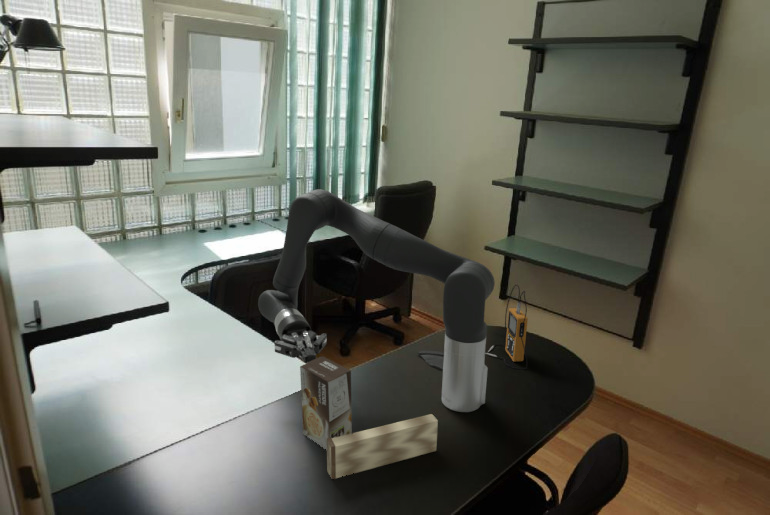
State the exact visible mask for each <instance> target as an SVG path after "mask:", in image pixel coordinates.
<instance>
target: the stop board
mask: <svg viewBox="0 0 770 515" xmlns="http://www.w3.org/2000/svg"><path fill="white" fill-rule="evenodd" d="M438 422H439V420H438V419H437V418H436V417H435V416H434V415H433V414H432V413H430V414H425V415H422V416H417V417H413V418H409V419H405V420H401V421H397V422H393V423H389V424H385V425H381V426H377V427H373V428H367V429H365V430H360V431H356V432H352V433H351V434H347V435H343V436H339V437H335V438H331V437H330V438H327V450H326V470H327V473H328V475H330V476H329V478H330V477H331V478H330V479H334V480H336V479H338V478H339V479H340V478H342V476H343V477H346V475H347V476H349V475H353V473H354V474H357V473H361V472H364V471H368V470H372V469H375V468H379V467H383V466H385V465H386V466H387V465H389V464H394V463H397V462H400V461H403V460H408V459H412V458H416V457H419V456H421V455H426V454H429V453H433V452H437V444H438V443H437V442H438V426H439V425H438Z"/></svg>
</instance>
